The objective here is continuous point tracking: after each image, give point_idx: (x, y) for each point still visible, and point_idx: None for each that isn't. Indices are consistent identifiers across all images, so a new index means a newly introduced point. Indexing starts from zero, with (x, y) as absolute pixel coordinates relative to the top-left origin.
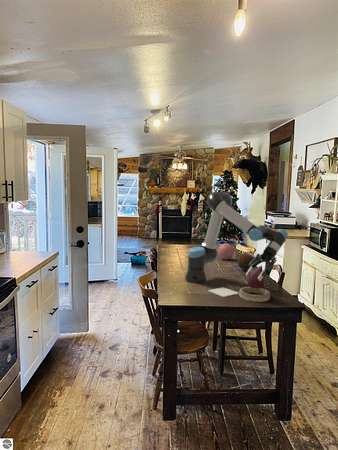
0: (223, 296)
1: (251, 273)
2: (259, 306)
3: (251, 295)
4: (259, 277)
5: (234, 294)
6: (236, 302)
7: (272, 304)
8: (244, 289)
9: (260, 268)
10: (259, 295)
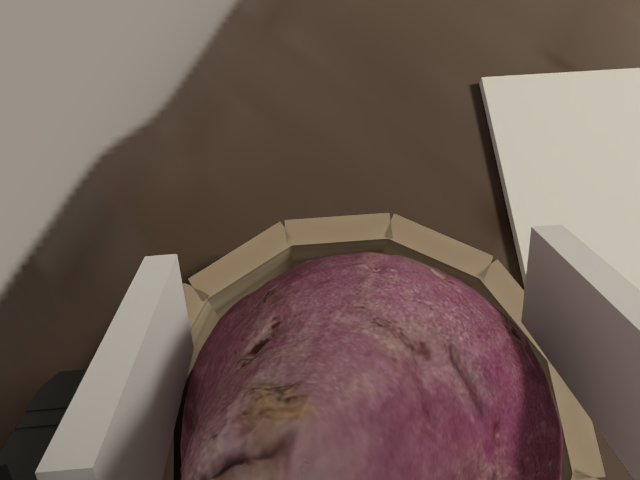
0: (481, 80)
1: (454, 283)
2: (64, 217)
3: (241, 248)
4: (136, 282)
5: (516, 246)
6: (285, 94)
7: (8, 419)
8: None
9: (208, 413)
10: None
